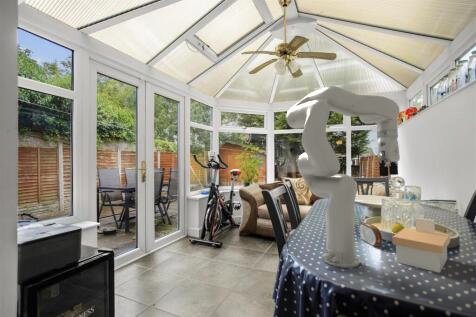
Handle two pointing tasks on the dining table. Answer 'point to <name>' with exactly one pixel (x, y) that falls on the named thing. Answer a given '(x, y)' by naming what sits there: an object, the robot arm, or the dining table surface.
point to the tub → (421, 258)
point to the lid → (422, 237)
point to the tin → (370, 234)
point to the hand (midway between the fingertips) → (389, 175)
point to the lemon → (397, 228)
